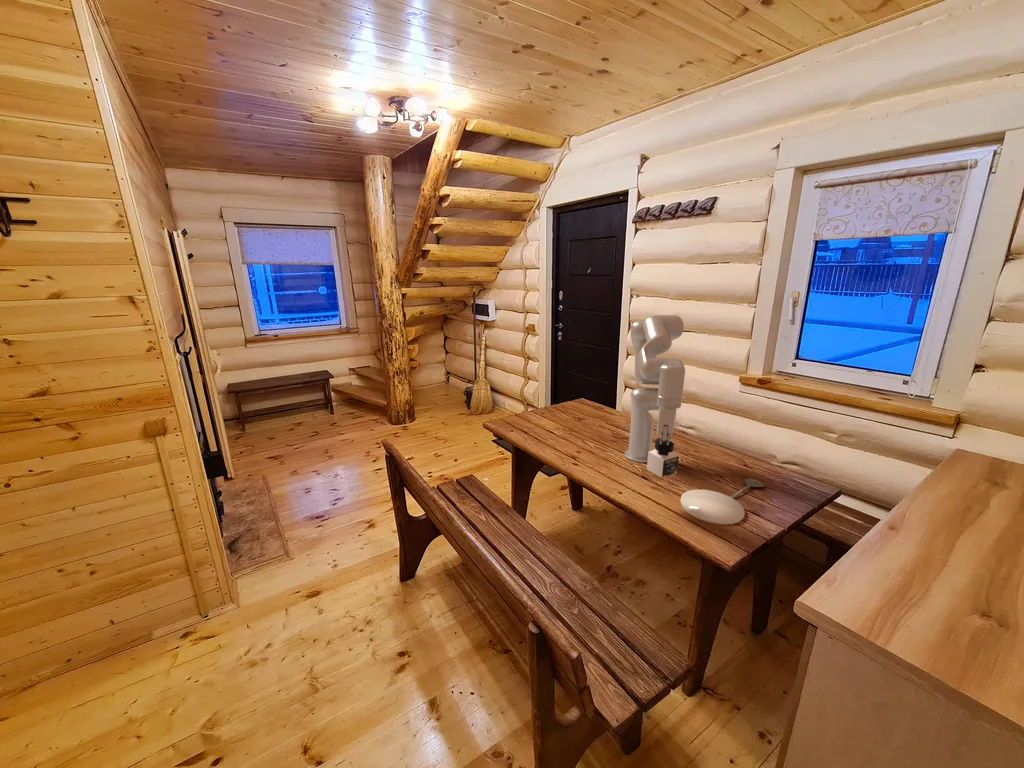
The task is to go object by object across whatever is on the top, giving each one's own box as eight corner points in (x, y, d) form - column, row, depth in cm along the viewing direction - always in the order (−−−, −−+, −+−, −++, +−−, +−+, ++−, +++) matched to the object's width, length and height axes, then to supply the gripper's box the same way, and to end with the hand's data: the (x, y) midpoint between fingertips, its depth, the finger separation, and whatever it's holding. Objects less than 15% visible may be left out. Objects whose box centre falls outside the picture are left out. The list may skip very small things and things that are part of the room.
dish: (681, 488, 153) (681, 485, 153) (741, 499, 145) (741, 496, 145) (679, 516, 135) (679, 513, 135) (747, 530, 128) (748, 527, 127)
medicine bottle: (662, 478, 135) (665, 446, 132) (646, 469, 141) (649, 438, 138) (677, 473, 138) (681, 441, 135) (660, 465, 144) (664, 434, 141)
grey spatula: (767, 488, 155) (749, 482, 160) (768, 480, 154) (750, 474, 159) (738, 504, 142) (719, 497, 148) (739, 495, 142) (720, 488, 147)
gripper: (659, 392, 141) (654, 439, 147) (654, 407, 126) (649, 459, 131) (682, 394, 139) (676, 442, 144) (680, 410, 123) (674, 463, 129)
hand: (663, 450), depth 137 cm, fingers closed on medicine bottle, 6 cm apart
